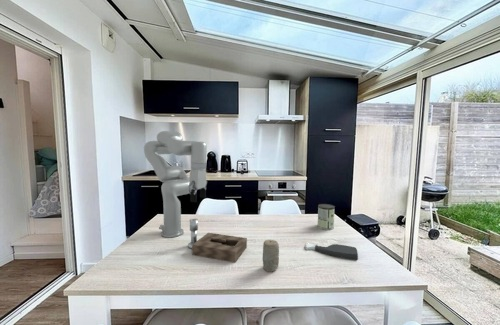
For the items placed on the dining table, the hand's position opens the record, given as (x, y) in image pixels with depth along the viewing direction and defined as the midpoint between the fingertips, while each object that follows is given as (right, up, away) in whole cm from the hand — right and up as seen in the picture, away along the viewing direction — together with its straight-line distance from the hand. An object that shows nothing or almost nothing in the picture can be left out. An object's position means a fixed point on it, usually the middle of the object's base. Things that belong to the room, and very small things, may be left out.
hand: (198, 199), depth 117 cm
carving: (+35, -27, -19) cm, 48 cm away
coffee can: (+76, -24, +33) cm, 86 cm away
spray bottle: (+67, -26, -2) cm, 72 cm away
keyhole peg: (-3, -24, +1) cm, 25 cm away
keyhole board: (+12, -25, -3) cm, 28 cm away
